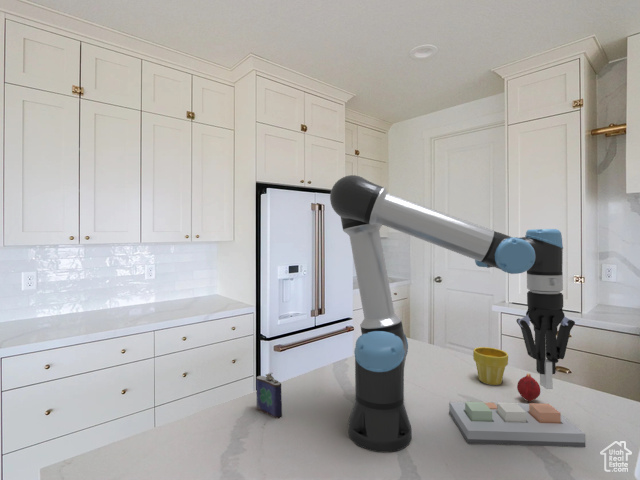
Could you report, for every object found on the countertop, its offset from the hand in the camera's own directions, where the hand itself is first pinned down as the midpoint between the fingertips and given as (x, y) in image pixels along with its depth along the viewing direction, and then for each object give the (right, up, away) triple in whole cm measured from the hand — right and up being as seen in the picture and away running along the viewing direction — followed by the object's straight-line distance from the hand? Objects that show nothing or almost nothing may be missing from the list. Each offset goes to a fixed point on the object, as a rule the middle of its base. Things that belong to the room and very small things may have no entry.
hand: (546, 386), depth 86 cm
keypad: (-8, -11, +1) cm, 14 cm away
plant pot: (0, -11, +29) cm, 31 cm away
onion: (+5, -11, +15) cm, 19 cm away
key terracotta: (0, -8, 0) cm, 8 cm away
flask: (-70, -11, +9) cm, 71 cm away
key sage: (-16, -8, +1) cm, 18 cm away
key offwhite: (-8, -8, +1) cm, 12 cm away
